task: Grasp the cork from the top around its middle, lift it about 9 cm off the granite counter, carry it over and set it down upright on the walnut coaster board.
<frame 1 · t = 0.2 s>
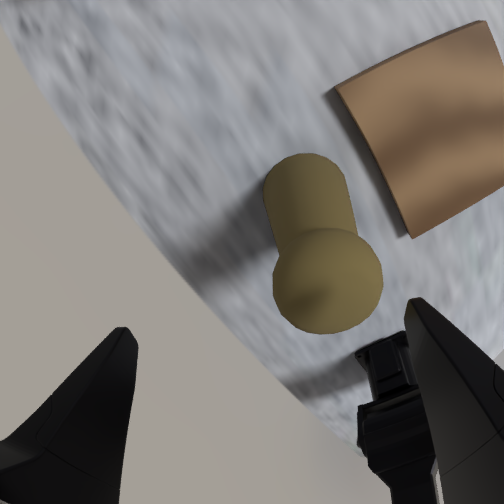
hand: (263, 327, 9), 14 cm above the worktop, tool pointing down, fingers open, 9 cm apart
cork: (305, 192, 22), on the worktop
walnut coaster board: (449, 128, 18), on the worktop
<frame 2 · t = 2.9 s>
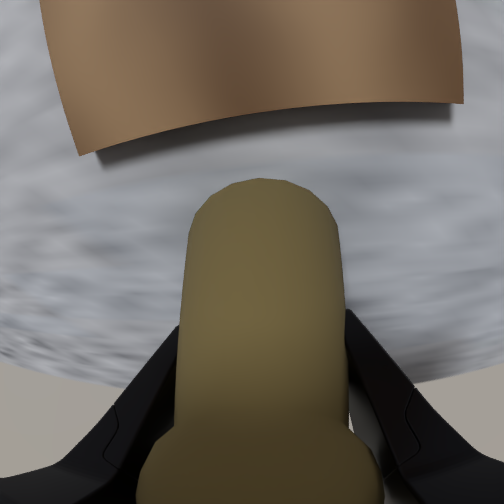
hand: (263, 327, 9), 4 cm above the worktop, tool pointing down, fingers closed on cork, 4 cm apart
cork: (264, 246, 13), on the worktop, touching gripper
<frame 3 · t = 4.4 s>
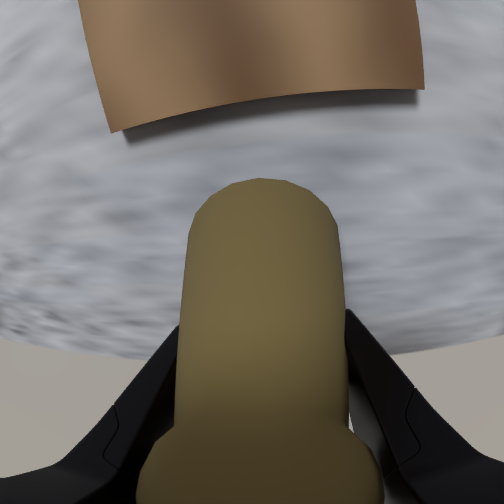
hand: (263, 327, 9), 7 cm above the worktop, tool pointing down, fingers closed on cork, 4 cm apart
cork: (264, 246, 13), point 3 cm above the worktop, touching gripper
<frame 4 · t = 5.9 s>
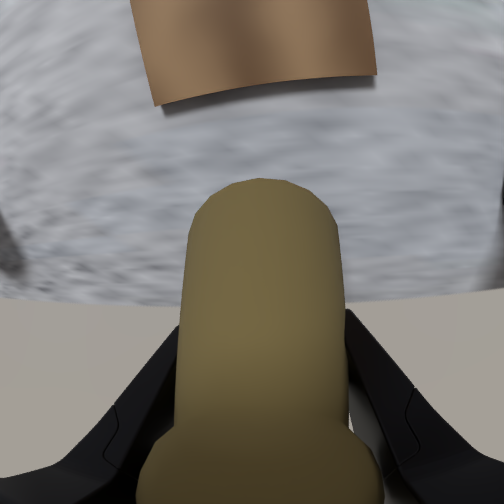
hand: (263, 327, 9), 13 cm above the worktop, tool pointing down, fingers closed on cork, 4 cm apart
cork: (263, 246, 13), point 9 cm above the worktop, touching gripper
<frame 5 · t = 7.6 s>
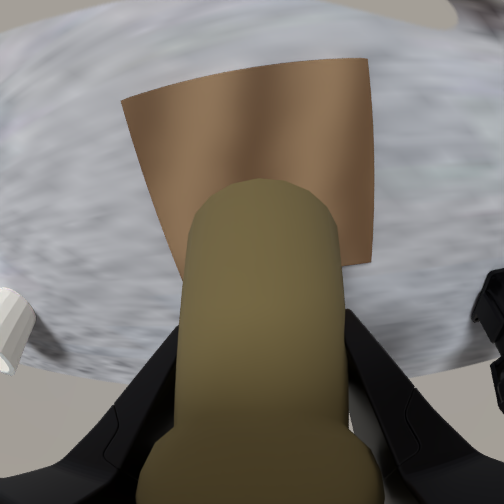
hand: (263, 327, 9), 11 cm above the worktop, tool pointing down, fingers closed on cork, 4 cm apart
cork: (263, 246, 13), point 7 cm above the worktop, touching gripper
walnut coaster board: (261, 178, 18), on the worktop
shot glass: (17, 305, 27), on the worktop
when the fingers open (6 cm above the worktop, at t = 9.1 s): cork drops 1 cm, resting on walnut coaster board.
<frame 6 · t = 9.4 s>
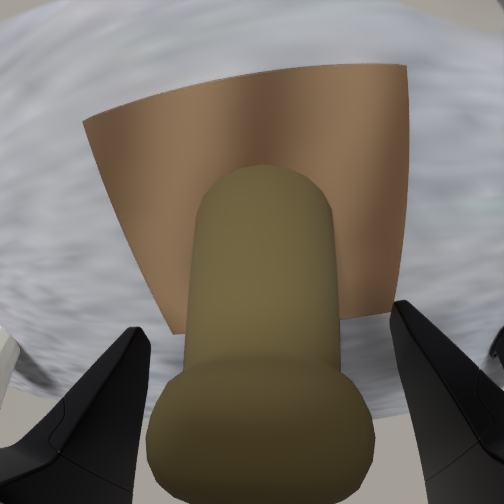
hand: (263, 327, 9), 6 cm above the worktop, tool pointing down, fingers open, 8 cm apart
cork: (264, 227, 14), point 1 cm above the worktop, touching walnut coaster board
walnut coaster board: (263, 217, 15), on the worktop
shot glass: (0, 335, 23), on the worktop
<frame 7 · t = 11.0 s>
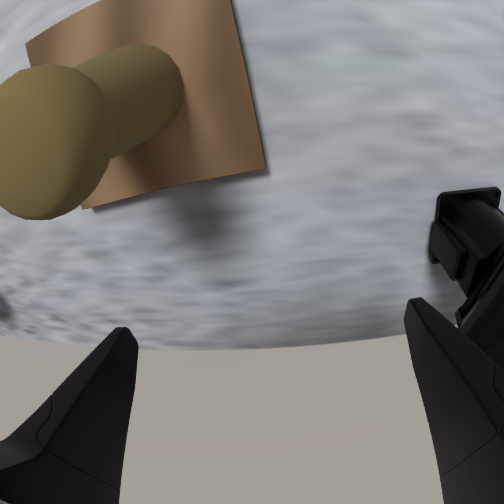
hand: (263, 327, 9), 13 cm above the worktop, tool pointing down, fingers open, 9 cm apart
cork: (134, 92, 15), point 1 cm above the worktop, touching walnut coaster board
walnut coaster board: (138, 89, 16), on the worktop
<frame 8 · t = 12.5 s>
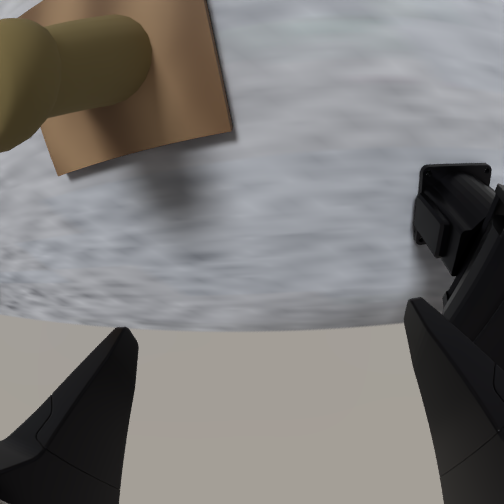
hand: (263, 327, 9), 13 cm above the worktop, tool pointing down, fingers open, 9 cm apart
cork: (107, 59, 15), point 1 cm above the worktop, touching walnut coaster board
walnut coaster board: (112, 58, 15), on the worktop
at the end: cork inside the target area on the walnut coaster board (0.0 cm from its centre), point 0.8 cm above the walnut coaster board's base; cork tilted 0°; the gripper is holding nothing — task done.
